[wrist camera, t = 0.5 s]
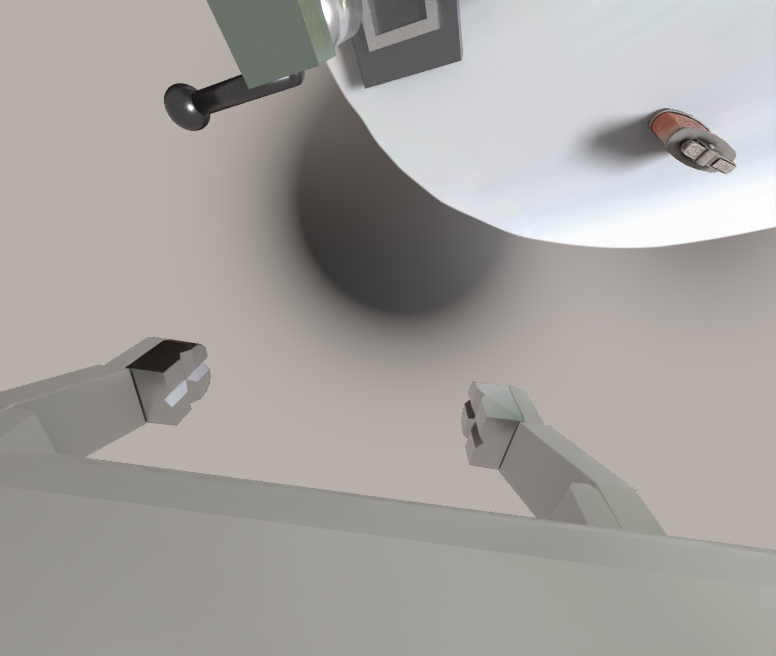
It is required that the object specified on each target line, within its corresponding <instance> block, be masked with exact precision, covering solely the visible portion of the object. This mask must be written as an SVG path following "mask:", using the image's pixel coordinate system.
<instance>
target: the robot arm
mask: <svg viewBox="0 0 776 656" xmlns="http://www.w3.org/2000/svg"><path fill="white" fill-rule="evenodd" d="M206 358H207V352H206V347H204V346H203V345H202V344H198V343H191V342H185V341H179V340H172V339H166V338H158V337H147V338H145V339H144V340H142V341H141V342H139V343H138V344H136V345H135V346H133V347H131V348H130V349H128V350H127V351H125V352H124V353H122V354H121V355H119V356H118V357H116V358H115V359H113V360H112V361H110V362H108V363H107V364H105V365H95V366H92V367H88V368H85V369H81V370H78V371H74V372H70V373H67V374H63V375H59V376H56V377H52V378H49V379H45V380H41V381H38V382H35V383H31V384H27V385H23V386H20V387H16V388H13V389H9V390H6V391H2V392H0V656H776V550H771V549H764V548H757V547H749V546H741V545H733V544H727V543H719V542H711V541H704V540H697V539H689V538H682V537H674V536H667V534H666V533H665V532H664V530H663V529H662V527H661V526H660V524H659V523H658V521H657V520H656V519H655V517H654V516H653V514H652V513H651V512H650V510H649V509H648V507H647V506H646V504H645V503H644V501H643V500H642V499H641V497H640V496H639V494H638V493H637V491H636V490H635V489H634V488H633V487H631V486H630V485H628V484H627V483H626V482H624V481H623V480H622V479H620V478H619V477H618V476H616V475H615V474H614V473H612V472H611V471H610V470H608V469H607V468H605V467H604V466H603V465H602V464H600V463H599V462H597V461H596V460H595V459H594V458H592V457H591V456H590V455H588V454H587V453H586V452H584V451H583V450H581V449H580V448H578V446H576V445H575V444H573V443H572V442H571V441H570V440H568V439H567V438H565V437H564V436H563V435H561V434H560V433H559V432H557V431H556V430H555V429H553V428H552V427H551V426H548V425H544V423H543V422H542V419H541V417H540V416H539V414H538V412H537V410H536V408H535V406H534V404H533V402H532V401H531V399H530V397H529V395H528V393H527V391H526V389H524V388H523V387H519V386H509V385H498V384H489V383H481V382H472V384H471V385H470V388H469V391H468V393H469V397H470V400H469V401H467V402H466V403H465V404H464V408H463V412H462V421H461V422H462V431H463V435H464V436H465V437H466V438H467V439H468V440H467V443H466V451H467V456H468V461H469V465H473V466H479V467H485V468H491V469H498V470H499V472H500V473H501V474H502V476H503V477H504V478H505V479H506V480H507V482H508V483H509V484H510V485H511V487H512V488H513V489H514V491H515V492H516V493H517V494H518V495H519V496H520V498H521V499H522V500H523V502H524V503H525V504H526V505H527V507H528V508H529V509H530V510H531V512H532V513H533V514H534V515H535V517H536V518H532V517H525V516H517V515H510V514H501V513H494V512H487V511H479V510H472V509H463V508H456V507H449V506H441V505H434V504H426V503H419V502H412V501H405V500H397V499H390V498H382V497H375V496H368V495H360V494H353V493H345V492H338V491H331V490H322V489H315V488H308V487H300V486H293V485H285V484H277V483H270V482H263V481H255V480H248V479H240V478H232V477H225V476H218V475H210V474H203V473H195V472H187V471H180V470H172V469H165V468H158V467H150V466H143V465H135V464H128V463H120V462H112V461H106V460H98V459H91V458H84V457H86V456H88V455H90V454H91V453H93V452H95V451H97V450H99V449H101V448H103V447H104V446H106V445H108V444H110V443H112V442H114V441H115V440H117V439H119V438H121V437H123V436H125V435H126V434H128V433H130V432H132V431H133V430H136V429H137V428H139V427H141V426H143V425H145V424H146V422H148V423H157V424H167V425H178V423H179V422H180V421H181V420H182V419H183V418H184V417H185V416H186V415H187V414H188V412H189V411H190V410H191V403H193V402H195V401H197V400H199V399H201V398H202V397H203V395H204V394H205V393H206V392H207V389H208V387H209V384H210V377H211V375H210V369H209V368H208V367H207V366H206V364H205V363H204V361H205V360H206Z"/></svg>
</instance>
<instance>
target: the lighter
mask: <svg viewBox="0 0 776 656" xmlns="http://www.w3.org/2000/svg"><path fill="white" fill-rule="evenodd" d="M648 128H649V130H650V131H651V132H652V133H653V134H654V135H655V136H656V137H657V138H658V139H660V140H661V141H662V142H663V143H664V147H665V149H666V150H667V151H668V152H669V153H670V154H671V155H672V156H673V157H674V158H676V159H677V160H679V161H680V162H682V163H683V164H685V165H687V166H690V167H692V168H695V169H698V170H702V171H706V172H718V171H719V172H721V173H723V174H728V173H730V172H731V171H733V170H734V169H735V168H736V164H735V163H734V162H733V160H734V159H735V157H736V152H735V151H734V150H733V149H732V148H731V147H730V146H729V145H728V144H727V143H726V142H725V141H724V140H722V139H721V138H719V137H718V136H716V135H715V134H713V133H711V131H710V130H709V129H708V128H707V127H706V126H705V125H704V124H703V123H702V122H701V121H699V120H698V119H696V118H695V117H693V116H692V115H690V114H687V113H684V112H682V111H679V110H674V109H669V108H664V109H661V110H659V111H658V112H656V113H655V114H654V115H653V116H652V117H651V118H650V120H649V122H648Z"/></svg>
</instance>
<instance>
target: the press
mask: <svg viewBox="0 0 776 656" xmlns="http://www.w3.org/2000/svg"><path fill="white" fill-rule="evenodd" d="M207 2H208V4H209V6H210V8H211V10H212V12H213V14H214V17H215V19H216V21H217V23H218V25H219V27H220V29H221V31H222V33H223V36H224V38H225V40H226V42H227V44H228V46H229V48H230V50H231V52H232V54H233V57H234V59H235V61H236V63H237V65H238V67H239V69H240V71H241V73H242V74H241V75H239V76H236V77H233V78H230V79H228V80H225V81H222V82H220V83H217V84H214V85H211V86H209V87H206V88H203V89H200V90H197V89H195V88H194V87H192V86H190V85H187V84H183V83H178V84H174V85H172V86H170V87H169V88H168V89H167V91H166V93H165V96H164V104H165V108H166V111H167V113H168V115H169V116H170V118H171V119H172V120H173V121H174V122H175V123H176V124H177V125H179V126H180V127H182V128H184V129H187V130H190V131H197V130H201V129H203V128H204V127H206V126H207V124H208V123H209V120H210V114H211V113H215V112H218V111H221V110H224V109H227V108H230V107H233V106H236V105H240V104H243V103H246V102H249V101H252V100H255V99H258V98H261V97H264V96H267V95H270V94H274V93H277V92H280V91H283V90H286V89H289V88H293V87H296V86H298V85H300V84H301V83H302V82H303V80H304V76H305V73H304V71H305V70H308V69H310V68H313V67H317V66H319V65H321V64H322V63H324V62H326V61H327V60H329V59H331V58H332V57H334V56H336V52H335V48H334V47H336V46H337V45H339V44H341V43H343V42H345V41H346V40H348V39H350V38H351V37H352V40H353V44H354V48H355V51H356V55H357V59H358V63H359V67H360V71H361V75H362V78H363V82H364V86H365V88H369V87H372V86H376V85H379V84H383V83H386V82H389V81H393V80H396V79H400V78H403V77H406V76H410V75H413V74H417V73H420V72H423V71H427V70H430V69H434V68H437V67H441V66H444V65H447V64H451V63H454V62H458V61H461V60H462V57H463V49H462V36H461V22H460V9H459V0H207Z"/></svg>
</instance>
